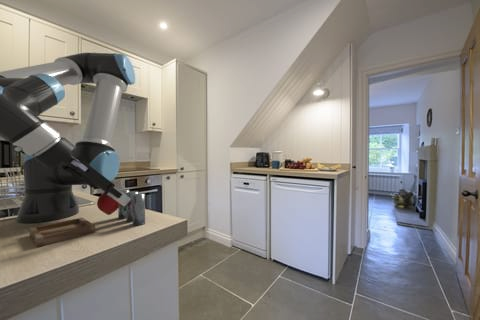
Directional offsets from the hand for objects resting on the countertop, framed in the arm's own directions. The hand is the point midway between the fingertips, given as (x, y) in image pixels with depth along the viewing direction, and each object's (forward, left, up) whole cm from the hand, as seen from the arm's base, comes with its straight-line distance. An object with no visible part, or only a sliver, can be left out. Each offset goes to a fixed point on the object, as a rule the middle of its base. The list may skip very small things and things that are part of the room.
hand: (122, 200), depth 62 cm
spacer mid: (0, +3, -7) cm, 7 cm away
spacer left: (-5, +3, -7) cm, 9 cm away
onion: (0, -4, -4) cm, 5 cm away
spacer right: (+5, +3, -7) cm, 9 cm away
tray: (-3, -13, -7) cm, 15 cm away
